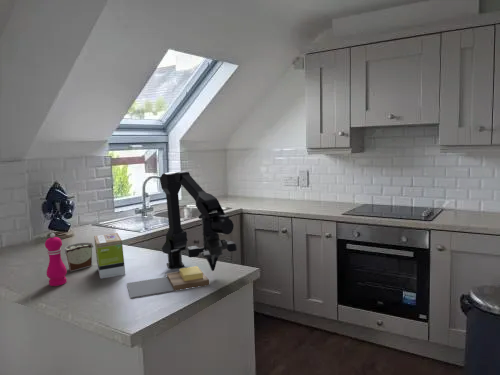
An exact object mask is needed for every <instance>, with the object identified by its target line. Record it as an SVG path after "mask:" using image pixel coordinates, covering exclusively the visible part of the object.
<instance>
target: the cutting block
mask: <svg viewBox="0 0 500 375" xmlns="http://www.w3.org/2000/svg"><path fill="white" fill-rule="evenodd" d="M198 268H199V269H200V270H201V268H200V267H198ZM166 277H167V278H168V280H169V282H170V284H171V285H172V287H173V289H174V292H177V291H181V290H180V289H183V290H187V289H186V288H189V289H193V288H192V287H195V288H199V287H198V286H201V287H205V285H206V286H210V279H209V278H208V277H207V275H206V274H205V273H204V272H203V278H200V279H194V280H187V281H184V280H183V278H182V277H181V275H180V271H175V272H168V273H166ZM176 290H177V291H176Z"/></svg>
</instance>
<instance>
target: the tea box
mask: <svg viewBox="0 0 500 375" xmlns="http://www.w3.org/2000/svg"><path fill="white" fill-rule="evenodd" d="M93 238H94V246H95V253H96V254H95V255H96V263H97V269H98V275H99V279H107V278H113V277H119V276H123V275H126V268H125V257H124V247H123V241H122V238H121V237H120V235H119V233H118V232H113V233H106V234H101V235H100V234H99V235H94V237H93Z"/></svg>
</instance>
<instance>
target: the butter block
mask: <svg viewBox="0 0 500 375" xmlns="http://www.w3.org/2000/svg"><path fill="white" fill-rule="evenodd" d="M199 268H200V267H198V265H196V266H189V267H188V266H187V267H181V268H179V271H180V275H181V277H182V278H183V280H184V281H187V280H194V279H200V278H203V273H204V272H203V271H202V269H201V268H200V269H199ZM179 271H178V272H179Z"/></svg>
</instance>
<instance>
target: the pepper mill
mask: <svg viewBox="0 0 500 375" xmlns="http://www.w3.org/2000/svg"><path fill="white" fill-rule="evenodd" d="M62 245H63V241H62V239H61V238H60V237H57V236H56V234H55V233H53V232H52V233H50V234H49V238H47V239H46V240H45V242H44V246H45V248H46V249H47V251H46V252H47V255H48V257H49V260H48V261H49V262H48V266H47V268H46V277H47V278H48V279H49V280H48V285H49V286H50V287H58V286H62V285H64V284H66V283H67V277H66V275H67V273H68V270H67V267H66V265H65V263H64V262H63V260H62V254H61V253H62V252H63V251H62V248H61V247H62Z"/></svg>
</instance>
